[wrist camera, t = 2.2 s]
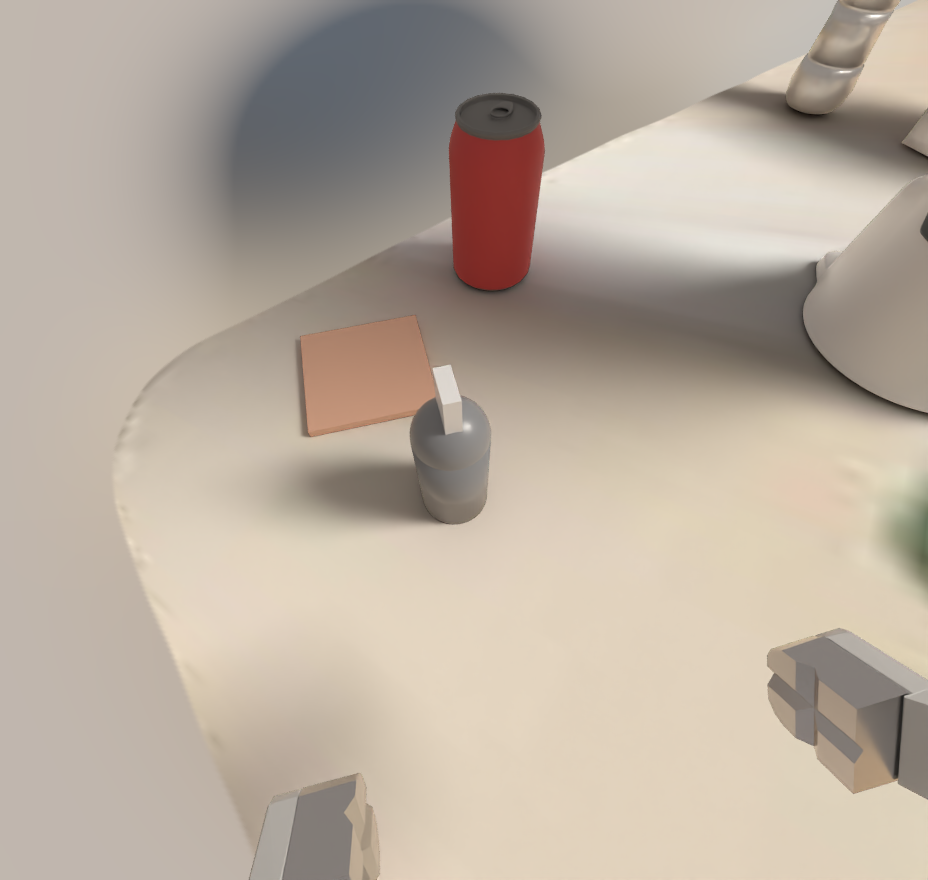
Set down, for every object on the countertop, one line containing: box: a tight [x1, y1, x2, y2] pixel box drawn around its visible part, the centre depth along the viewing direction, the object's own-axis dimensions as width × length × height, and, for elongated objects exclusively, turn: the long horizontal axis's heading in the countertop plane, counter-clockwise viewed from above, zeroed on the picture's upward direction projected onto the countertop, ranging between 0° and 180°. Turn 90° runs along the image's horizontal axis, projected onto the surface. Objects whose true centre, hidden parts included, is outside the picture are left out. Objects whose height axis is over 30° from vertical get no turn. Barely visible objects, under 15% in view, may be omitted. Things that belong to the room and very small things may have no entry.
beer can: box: [449, 93, 545, 291], centre depth 34 cm, size 7×7×12 cm
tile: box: [300, 315, 436, 437], centre depth 33 cm, size 9×9×1 cm
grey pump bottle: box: [410, 365, 491, 524], centre depth 23 cm, size 4×4×11 cm
